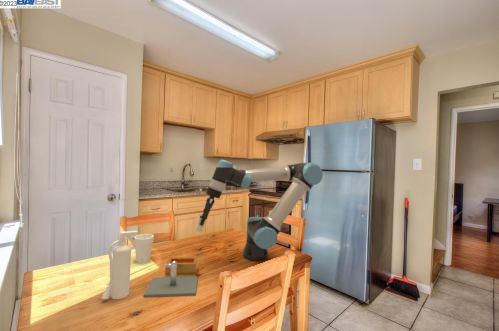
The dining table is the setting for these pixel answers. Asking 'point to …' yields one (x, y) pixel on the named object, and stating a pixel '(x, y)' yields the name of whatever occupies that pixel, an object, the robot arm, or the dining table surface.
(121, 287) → the fire extinguisher
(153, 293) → the keeper plate
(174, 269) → the hook
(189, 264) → the framed display niche
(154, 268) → the dining table surface
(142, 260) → the foam cup
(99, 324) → the dining table surface
